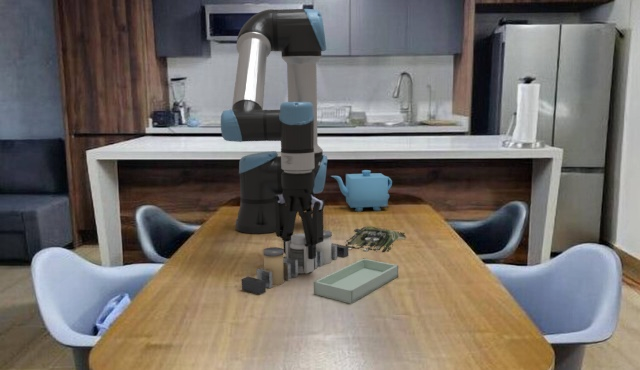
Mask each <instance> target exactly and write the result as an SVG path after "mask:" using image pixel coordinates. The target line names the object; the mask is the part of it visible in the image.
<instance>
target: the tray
mask: <svg viewBox="0 0 640 370" xmlns="http://www.w3.org/2000/svg"><path fill="white" fill-rule="evenodd" d="M398 277H399V265H398V264H393V263H387V262H382V261H377V260H373V259H368V258H361V259H359V260H357V261H355V262H353V263H351V264H348V265H346V266H344V267H342V268H340V269H337V270H336V271H334V272H332V273H330V274H328V275H325V276H323V277H321V278H318V279H317V280H314V281H313V294H314V295H317V296H321V297H325V298H328V299H331V300H335V301H340V302H343V303H347V304H353V303H354V302H356V301H358V300H360V299H361V298H364V297H365V296H367V295H368V294H371V293H372V292H374V291H376V290H377V289H380V288H381V287H382V286H384V285H386V284H388V283H389V282H392V281H393V280H394V279H397V278H398Z"/></svg>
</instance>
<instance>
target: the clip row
mask: <svg viewBox="0 0 640 370" xmlns="http://www.w3.org/2000/svg"><path fill="white" fill-rule="evenodd" d="M348 246H349V245H348ZM348 246H346V245H344V244H343V245H342V244H338V243H332V242H331V260H334V261H336V260H337V259H338V257H340V258H345V257H348V256H349V250H348ZM283 266H284V281H290V280H292V278H298V277H299V273H298V259H293V258H289V257H286V256H283ZM321 266H324V264H323V259H322V251H320V250H316V258H314V270H316V269H318V267H321ZM273 287H274V286H273V284H272V271H270V270H266V269H264V268H261V267H260V268H257V269H256V278H255V277H252V276H246V277H244V278H241V290H242V291H245V292H249V293H252V294H255V295H258V296H260V295H262V294H265V293H266V292H267V289H271V288H273ZM266 288H267V289H266Z"/></svg>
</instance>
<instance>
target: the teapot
mask: <svg viewBox="0 0 640 370" xmlns="http://www.w3.org/2000/svg"><path fill="white" fill-rule="evenodd" d="M371 172H372V171H371V170H368V169H364V170H361V173H345V184H344V182H343V180H342V177H341V176H339V175H330V177H331V178H334V179H335V180H336V181H337V183H338V186H339V189H340V192H341V194H342V195H343V196H344V197H345V201H346V203H347V205H348V206H349V207H350V209H351V208H353V209H354V208H355V209H354V212H356V211H357V213H360V211H361V212H363V210H364V208H372V209H373V211H374V212H380V211H382V209H381V207H383V208H385V207H388V206H389V205H388V202H389V199H390V194H389V190H390V189H391V187H392V185H393V180H392V179H391V178H390V176H387V175H384V174H383V173H379V172H378V173H375V172H374V173H371Z"/></svg>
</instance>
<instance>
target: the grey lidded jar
mask: <svg viewBox="0 0 640 370" xmlns="http://www.w3.org/2000/svg"><path fill="white" fill-rule="evenodd" d="M332 236H333V233H332V231H330V230H326V229H325V230H324V229H323V242H321V243H318V244H316V250H320V251H322V259H323V265H328V264H330V263H332V260H333V259H331V244H332Z"/></svg>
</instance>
